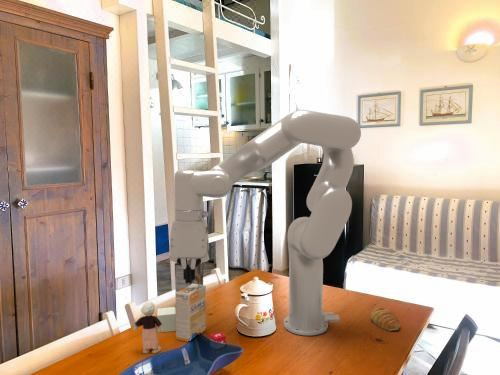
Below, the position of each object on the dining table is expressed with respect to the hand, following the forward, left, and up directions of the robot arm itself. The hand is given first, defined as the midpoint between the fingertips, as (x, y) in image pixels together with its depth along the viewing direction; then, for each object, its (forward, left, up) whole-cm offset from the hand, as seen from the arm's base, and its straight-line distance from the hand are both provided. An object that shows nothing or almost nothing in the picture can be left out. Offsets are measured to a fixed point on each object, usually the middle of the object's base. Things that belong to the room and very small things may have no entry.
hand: (189, 282), depth 102 cm
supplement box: (0, 0, -15) cm, 15 cm away
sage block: (+8, -4, -15) cm, 17 cm away
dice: (-8, +6, -15) cm, 18 cm away
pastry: (-56, -8, -15) cm, 59 cm away
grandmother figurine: (+9, +9, -15) cm, 20 cm away
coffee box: (+4, -18, -15) cm, 24 cm away
